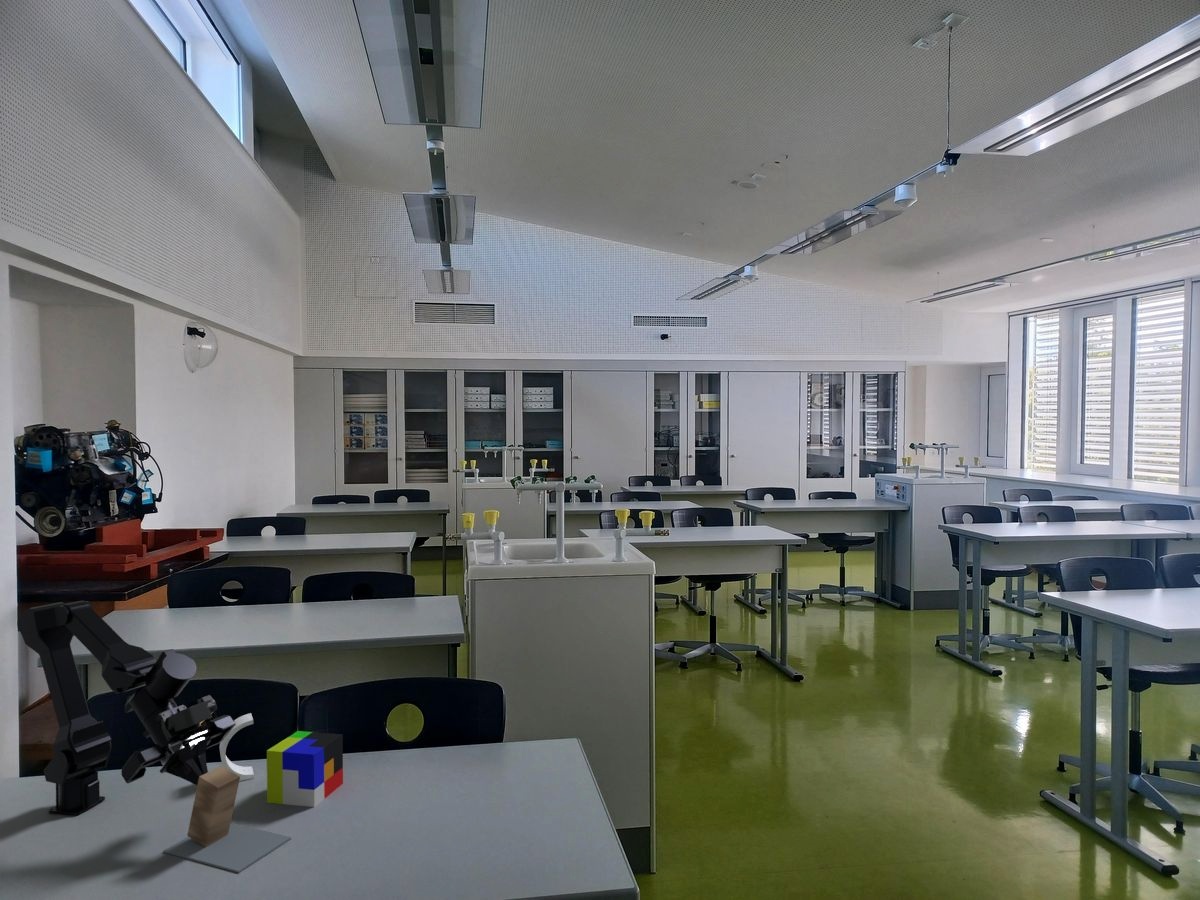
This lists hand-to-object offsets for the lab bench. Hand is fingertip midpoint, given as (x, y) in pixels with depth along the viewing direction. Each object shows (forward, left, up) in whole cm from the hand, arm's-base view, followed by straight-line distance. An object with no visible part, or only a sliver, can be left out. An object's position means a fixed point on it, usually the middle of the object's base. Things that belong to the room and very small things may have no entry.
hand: (206, 786), depth 129 cm
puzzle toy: (+7, +19, -10) cm, 23 cm away
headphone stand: (-11, +23, -10) cm, 27 cm away
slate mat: (+5, -1, -9) cm, 11 cm away
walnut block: (0, 0, -8) cm, 8 cm away
